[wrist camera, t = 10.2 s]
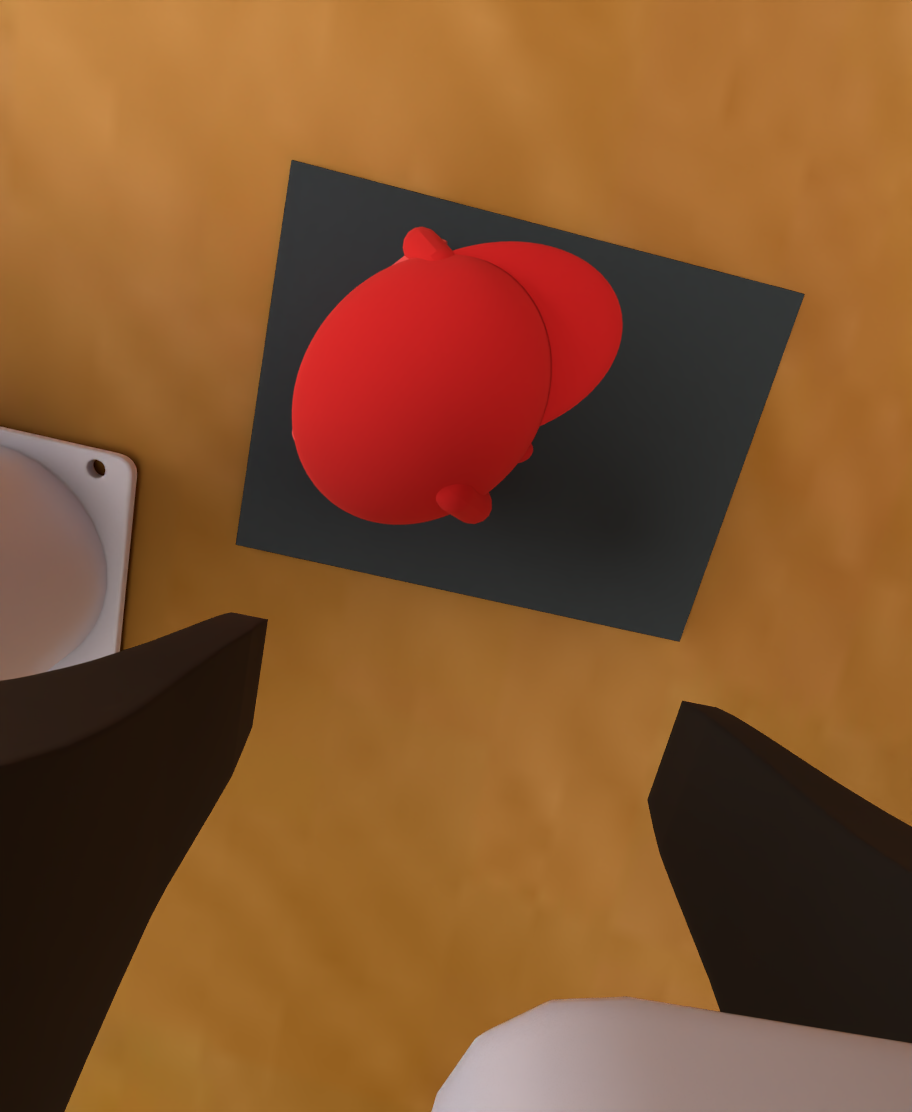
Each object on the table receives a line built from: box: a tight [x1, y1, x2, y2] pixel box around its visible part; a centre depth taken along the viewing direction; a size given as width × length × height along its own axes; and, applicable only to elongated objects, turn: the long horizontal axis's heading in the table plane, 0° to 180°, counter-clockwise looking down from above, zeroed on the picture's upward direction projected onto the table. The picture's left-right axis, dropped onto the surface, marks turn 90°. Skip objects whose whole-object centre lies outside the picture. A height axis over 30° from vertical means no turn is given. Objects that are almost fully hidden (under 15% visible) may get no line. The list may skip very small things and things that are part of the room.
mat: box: [236, 160, 804, 641], centre depth 19 cm, size 14×10×1 cm
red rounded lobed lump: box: [292, 227, 623, 525], centre depth 16 cm, size 8×6×6 cm
